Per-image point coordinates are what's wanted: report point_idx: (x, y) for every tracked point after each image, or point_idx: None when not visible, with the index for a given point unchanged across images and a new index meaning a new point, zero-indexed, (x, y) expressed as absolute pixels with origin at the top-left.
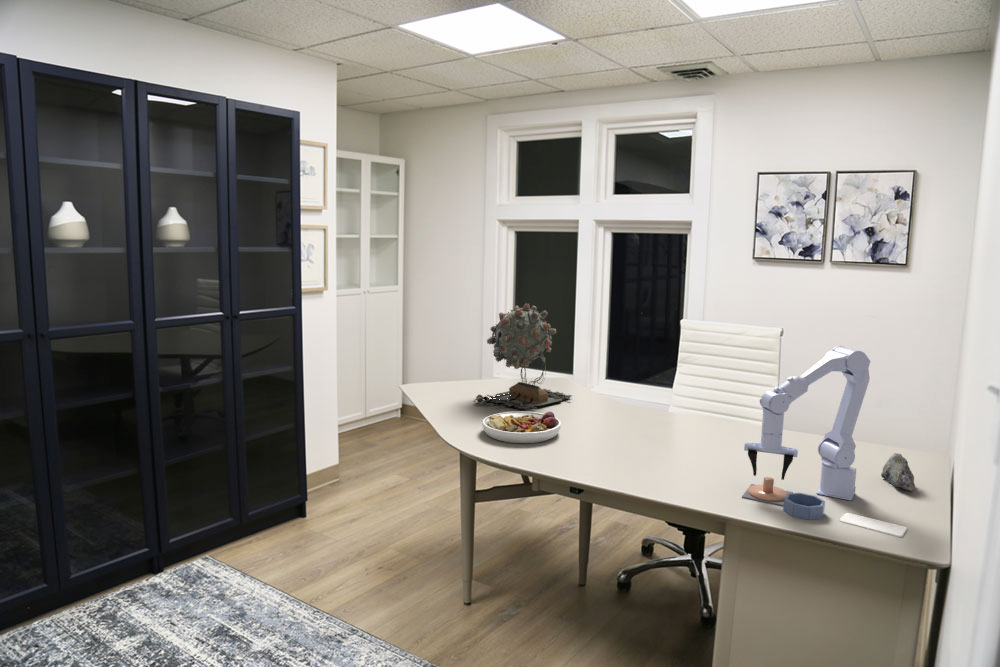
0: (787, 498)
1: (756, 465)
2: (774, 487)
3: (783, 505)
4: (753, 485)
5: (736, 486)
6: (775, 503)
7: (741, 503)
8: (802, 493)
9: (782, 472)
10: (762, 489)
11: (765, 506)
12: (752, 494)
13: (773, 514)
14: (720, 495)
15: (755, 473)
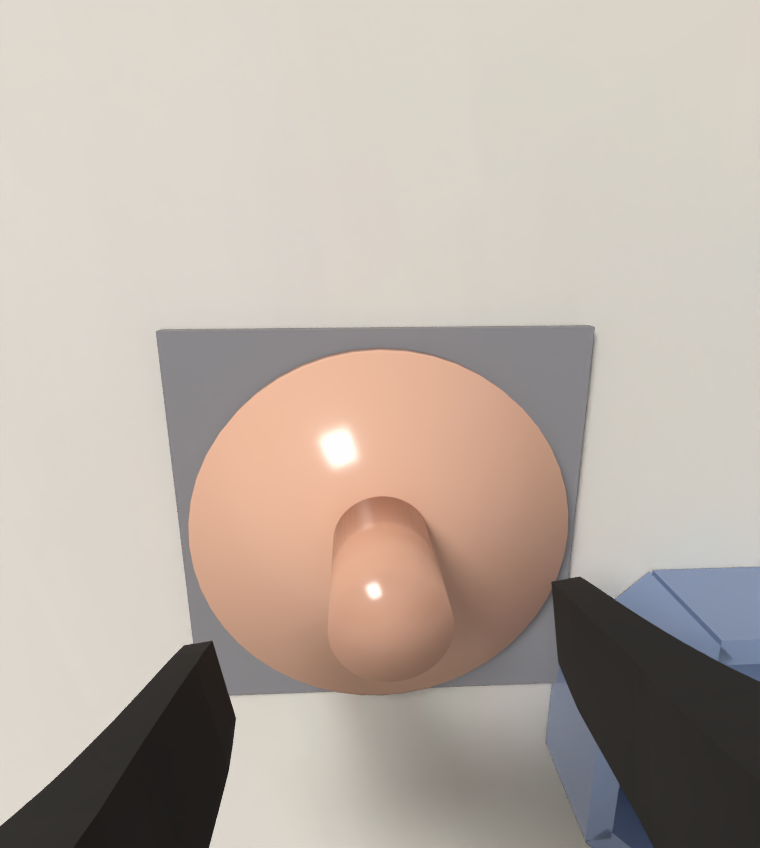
0: (612, 826)
1: (160, 714)
2: (416, 383)
3: (540, 678)
4: (208, 456)
5: (50, 454)
6: (478, 684)
7: (241, 787)
8: (746, 646)
9: (617, 777)
10: (321, 514)
11: (414, 745)
12: (272, 664)
13: (491, 837)
14: (38, 734)
15: (222, 757)
